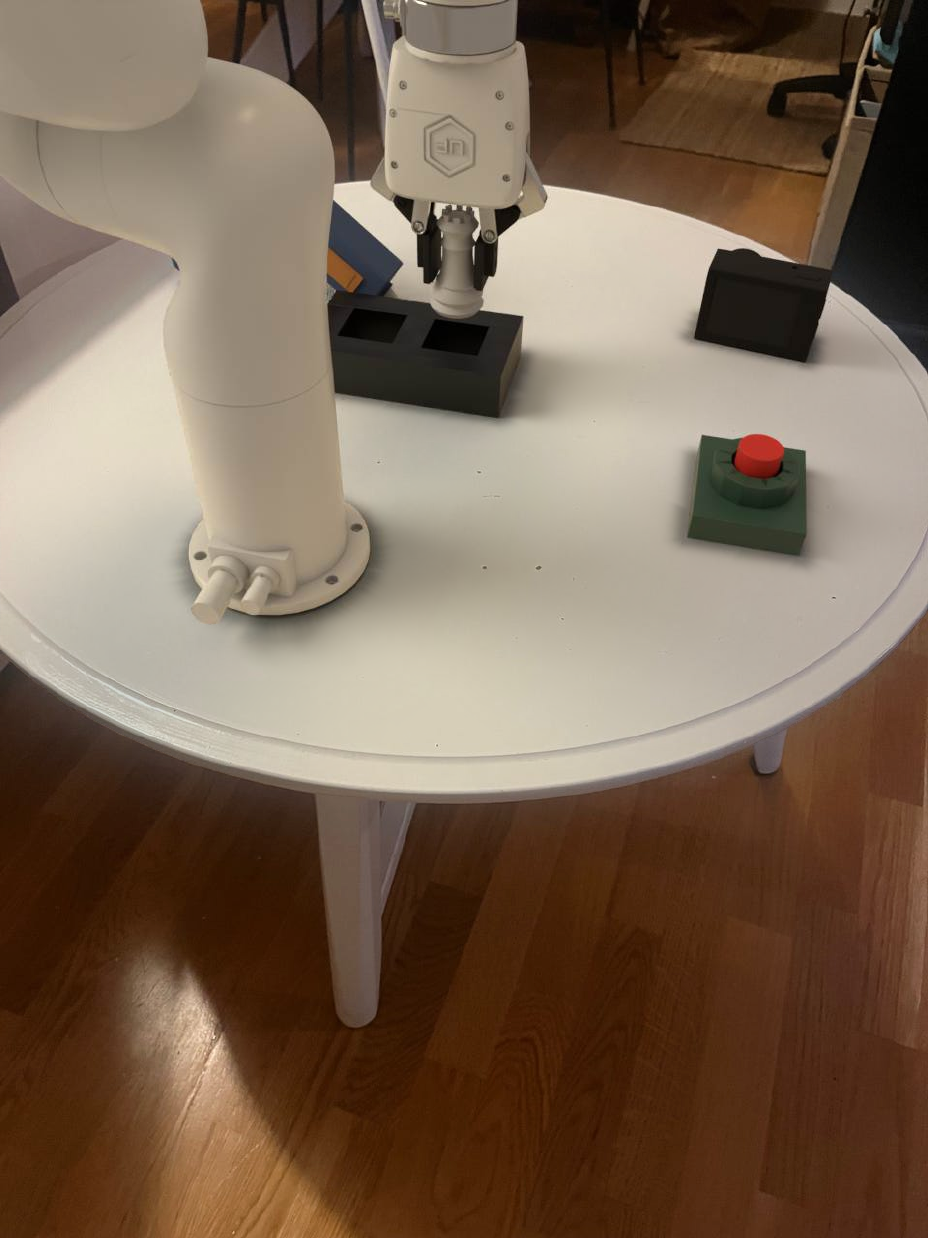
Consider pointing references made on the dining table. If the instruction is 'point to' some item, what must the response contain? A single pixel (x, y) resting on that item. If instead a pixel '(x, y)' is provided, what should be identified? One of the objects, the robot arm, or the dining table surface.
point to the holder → (422, 353)
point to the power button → (759, 456)
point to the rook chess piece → (456, 266)
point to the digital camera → (762, 303)
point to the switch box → (748, 500)
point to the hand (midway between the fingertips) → (457, 277)
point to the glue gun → (357, 258)
